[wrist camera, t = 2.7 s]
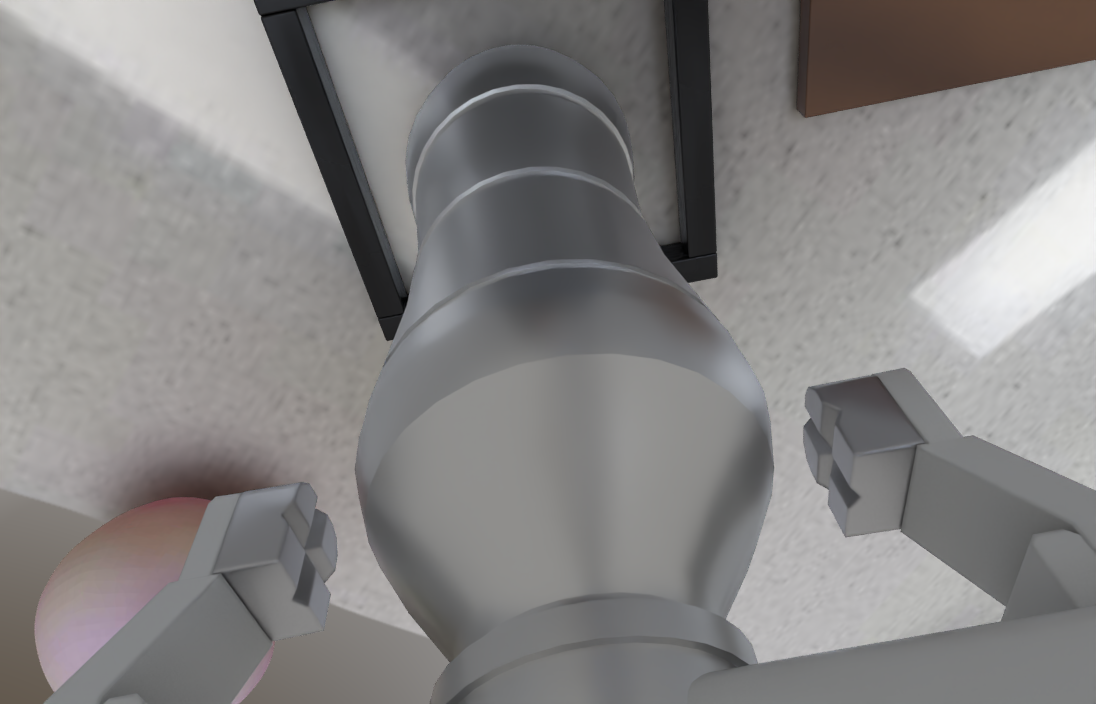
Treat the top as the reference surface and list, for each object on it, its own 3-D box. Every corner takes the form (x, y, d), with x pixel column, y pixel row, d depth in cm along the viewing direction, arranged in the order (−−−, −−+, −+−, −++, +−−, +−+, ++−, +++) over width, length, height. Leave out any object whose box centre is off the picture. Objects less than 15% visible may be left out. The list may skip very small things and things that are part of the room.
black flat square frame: (253, -33, 20) (242, -25, 19) (692, -127, 19) (704, -124, 18) (389, 322, 27) (386, 341, 26) (709, 260, 26) (718, 277, 25)
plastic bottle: (377, 179, 23) (182, 966, 8) (472, -23, 20) (477, 618, 4) (549, 259, 26) (674, 990, 10) (658, 91, 22) (1112, 778, 7)
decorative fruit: (84, 427, 29) (-66, 666, 21) (299, 446, 30) (237, 675, 22) (117, 573, 34) (9, 806, 26) (298, 582, 36) (248, 806, 28)
